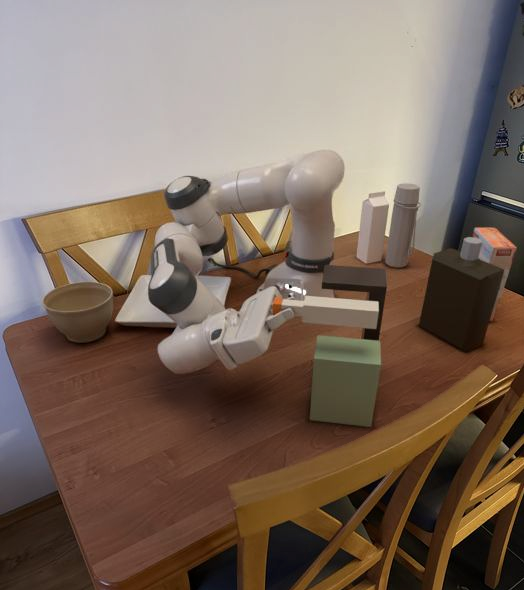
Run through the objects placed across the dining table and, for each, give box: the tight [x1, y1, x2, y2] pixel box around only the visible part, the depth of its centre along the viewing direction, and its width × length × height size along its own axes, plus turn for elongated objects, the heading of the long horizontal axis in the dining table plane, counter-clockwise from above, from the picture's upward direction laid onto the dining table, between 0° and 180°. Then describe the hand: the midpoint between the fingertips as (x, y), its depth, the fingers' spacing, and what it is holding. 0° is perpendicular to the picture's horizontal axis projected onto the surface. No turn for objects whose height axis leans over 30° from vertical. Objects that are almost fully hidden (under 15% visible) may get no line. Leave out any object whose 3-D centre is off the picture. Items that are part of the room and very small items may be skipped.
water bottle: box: [384, 182, 422, 269], centre depth 151 cm, size 9×8×25 cm
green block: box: [309, 334, 382, 428], centre depth 95 cm, size 12×8×15 cm, turn 80°
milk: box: [356, 191, 390, 265], centre depth 156 cm, size 6×6×22 cm
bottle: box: [418, 236, 504, 353], centre depth 116 cm, size 8×16×25 cm, turn 33°
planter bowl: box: [42, 281, 114, 344], centre depth 121 cm, size 16×16×11 cm
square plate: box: [114, 274, 232, 329], centre depth 134 cm, size 27×27×4 cm
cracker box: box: [471, 226, 517, 322], centre depth 128 cm, size 14×6×21 cm, turn 178°
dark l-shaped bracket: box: [322, 264, 388, 341], centre depth 102 cm, size 12×8×25 cm, turn 80°
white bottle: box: [273, 296, 379, 329], centre depth 88 cm, size 18×4×4 cm, turn 80°
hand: (294, 306), depth 88 cm, fingers closed on white bottle, 2 cm apart
